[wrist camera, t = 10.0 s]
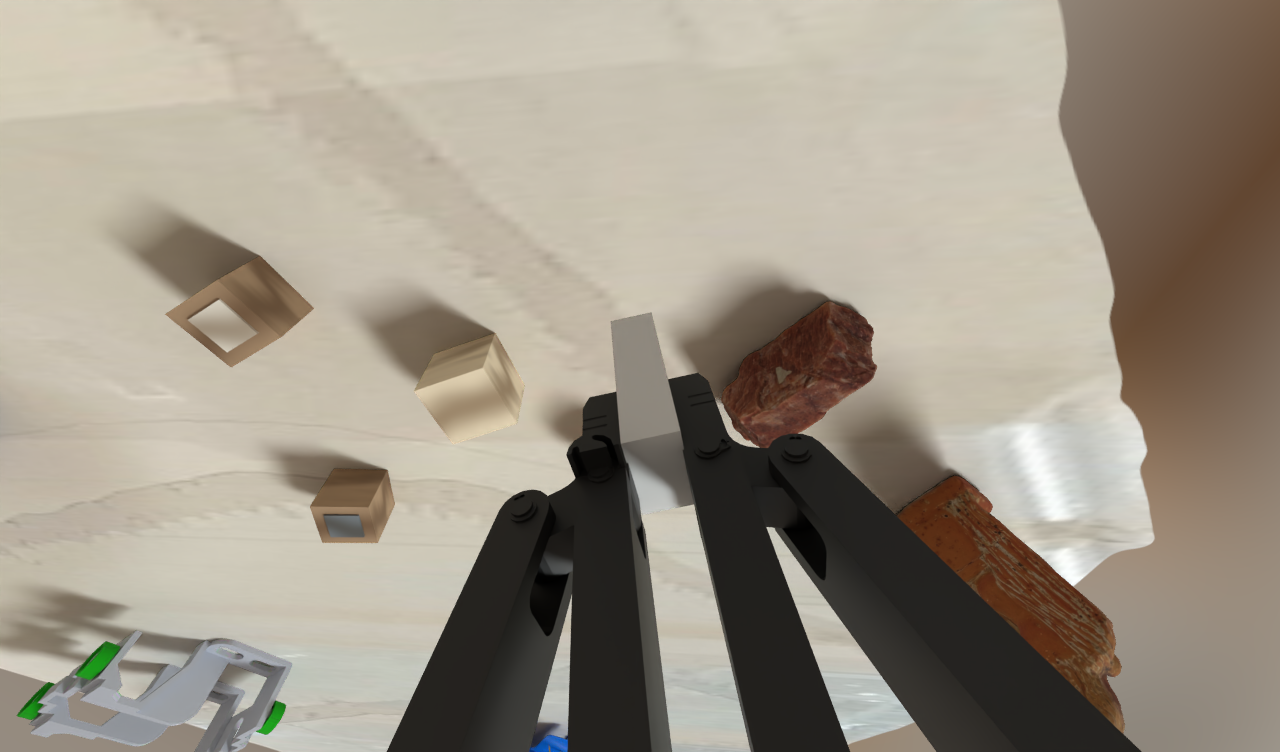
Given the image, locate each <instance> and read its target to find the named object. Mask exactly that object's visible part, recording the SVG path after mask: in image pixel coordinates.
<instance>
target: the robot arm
mask: <svg viewBox="0 0 1280 752" xmlns="http://www.w3.org/2000/svg"><path fill="white" fill-rule="evenodd" d="M611 330H612V342H613V355H614V367H615V379H616V392H613V393H608V394H604V395H599V396H595V397H590V398H589V399H588V401H587V403H586V405H585V406H584V408H583V436H581V437H580V438H578V439H577V440H575V441H574V442H573V443H572V445H571V446H570V447H569V449H568V452H567V458H568V460H569V463H570V465H571V468H572V470H573V473H574V475H575V480H574V481H573V482H572V483H570V484H569V485H568V486H566V487H565V488H563V489H561V490H559V491H557V492H555V493H553V494H551V495H549V496H547V495H546V494H544V493H543V492H541V491H538V490H527V491H522V492H520V493H518V494H516V495H514V496H512V497H511V498H510V499H509V500H507V501H506V502H505V503H504V505H503V506H502V508H501V509H500V510H499V513H498V515H497V517H496V519H495V521H494V523H493V525H492V527H491V530H490V532H489V534H488V536H487V538H486V540H485V542H484V545H483V547H482V549H481V551H480V553H479V555H478V557H477V560H476V562H475V564H474V566H473V568H472V570H471V572H470V575H469V577H468V579H467V581H466V583H465V585H464V587H463V590H462V592H461V594H460V596H459V598H458V600H457V602H456V605H455V607H454V609H453V611H452V613H451V615H450V617H449V620H448V622H447V624H446V626H445V628H444V630H443V632H442V634H441V637H440V639H439V641H438V643H437V645H436V647H435V649H434V652H433V654H432V656H431V658H430V660H429V662H428V664H427V667H426V669H425V671H424V673H423V675H422V677H421V679H420V682H419V684H418V686H417V688H416V690H415V692H414V694H413V697H412V699H411V701H410V703H409V705H408V707H407V709H406V712H405V714H404V716H403V718H402V720H401V722H400V724H399V727H398V729H397V731H396V733H395V735H394V737H393V739H392V741H391V744H390V746H389V748H388V750H387V752H529V750H530V747H531V743H532V739H533V735H534V732H535V728H536V724H537V721H538V717H539V713H540V710H541V706H542V702H543V699H544V695H545V691H546V687H547V684H548V680H549V676H550V673H551V669H552V665H553V662H554V658H555V654H556V651H557V647H558V643H559V640H560V636H561V632H562V628H563V625H564V621H565V617H566V614H567V610H568V606H569V603H570V599H571V595H572V615H571V649H570V683H569V716H568V750H567V752H672V748H671V739H670V731H669V723H668V715H667V706H666V698H665V690H664V682H663V673H662V665H661V657H660V649H659V641H658V632H657V624H656V616H655V608H654V599H653V591H652V583H651V575H650V566H649V558H648V550H647V542H646V534H645V529H644V526H643V523H642V519H641V512H642V515H644V514H649V513H654V512H659V511H664V510H669V509H673V508H678V507H683V506H688V505H693V504H694V506H695V510H696V515H697V520H698V525H699V530H700V535H701V538H702V542H703V546H704V550H705V555H706V559H707V563H708V568H709V572H710V576H711V581H712V585H713V589H714V594H715V598H716V602H717V607H718V611H719V615H720V620H721V624H722V628H723V633H724V637H725V641H726V646H727V650H728V654H729V659H730V663H731V667H732V672H733V676H734V680H735V685H736V689H737V693H738V698H739V702H740V706H741V711H742V715H743V719H744V724H745V728H746V732H747V737H748V741H749V745H750V750H751V752H850V750H849V747H848V745H847V742H846V739H845V737H844V734H843V731H842V729H841V726H840V723H839V721H838V718H837V715H836V713H835V710H834V707H833V705H832V702H831V699H830V697H829V694H828V691H827V689H826V686H825V683H824V681H823V678H822V675H821V673H820V670H819V667H818V664H817V662H816V659H815V656H814V654H813V651H812V648H811V646H810V643H809V640H808V638H807V635H806V632H805V630H804V627H803V624H802V622H801V619H800V616H799V614H798V611H797V608H796V606H795V603H794V600H793V598H792V595H791V592H790V590H789V587H788V584H787V582H786V579H785V576H784V574H783V571H782V568H781V566H780V563H779V560H778V558H777V555H776V552H775V550H774V547H773V544H772V541H771V539H770V536H769V533H768V531H767V528H766V527H774V528H775V530H776V532H777V533H778V535H779V536H780V537H781V539H782V540H783V541H784V543H785V544H786V546H787V547H788V548H789V550H790V551H791V552H792V554H793V555H794V557H795V558H796V559H797V561H798V562H799V563H800V565H801V566H802V568H803V569H804V570H805V572H806V573H807V574H808V576H809V577H810V579H811V580H812V581H813V583H814V584H815V585H816V587H817V588H818V590H819V591H820V592H821V594H822V595H823V596H824V598H825V599H826V601H827V602H828V603H829V605H830V606H831V607H832V609H833V610H834V612H835V613H836V614H837V616H838V617H839V618H840V620H841V621H842V623H843V624H844V625H845V627H846V628H847V629H848V631H849V632H850V633H851V635H852V636H853V638H854V639H855V640H856V642H857V643H858V644H859V646H860V647H861V649H862V650H863V651H864V653H865V654H866V655H867V657H868V658H869V660H870V661H871V662H872V664H873V665H874V666H875V668H876V669H877V671H878V672H879V673H880V675H881V676H882V677H883V679H884V680H885V682H886V683H887V684H888V686H889V687H890V688H891V690H892V691H893V693H894V694H895V695H896V697H897V698H898V699H899V701H900V702H901V704H902V705H903V706H904V708H905V709H906V710H907V712H908V713H909V715H910V716H911V717H912V719H913V720H914V721H915V722H916V724H917V725H918V727H919V728H920V730H921V731H922V732H923V734H924V735H925V736H926V738H927V739H928V741H929V742H930V743H931V745H932V746H933V747H934V749H935V750H936V752H1141V751H1140V750H1139V749H1138V748H1137V747H1136V746H1135V745H1134V744H1133V743H1132V742H1131V741H1130V740H1129V739H1128V738H1126V736H1124V734H1123V733H1122V732H1120V731H1119V730H1118V729H1117V728H1116V727H1115V726H1114V725H1113V724H1112V723H1111V722H1110V721H1109V720H1108V719H1107V718H1106V717H1105V716H1104V715H1103V714H1102V713H1101V712H1100V711H1099V710H1098V709H1097V708H1096V707H1095V706H1093V705H1092V704H1091V703H1090V702H1089V701H1088V700H1087V699H1086V698H1085V697H1084V696H1083V695H1082V694H1081V693H1080V692H1079V691H1078V690H1077V689H1076V688H1075V687H1074V686H1073V685H1072V684H1071V683H1070V682H1069V681H1067V680H1066V679H1065V678H1064V677H1063V676H1062V675H1061V674H1060V673H1059V672H1058V671H1057V670H1056V669H1055V668H1054V667H1053V666H1052V665H1051V664H1050V663H1049V662H1048V661H1047V660H1046V659H1045V658H1044V657H1043V656H1042V655H1040V654H1039V653H1038V652H1037V651H1036V650H1035V649H1034V648H1033V647H1032V646H1031V645H1030V644H1029V643H1028V642H1027V641H1026V640H1025V639H1024V638H1023V637H1022V636H1021V635H1020V634H1019V633H1018V632H1017V631H1016V630H1015V629H1013V628H1012V627H1011V626H1010V625H1009V624H1008V623H1007V622H1006V621H1005V620H1004V619H1003V618H1002V617H1001V616H1000V615H999V614H998V613H997V612H996V611H995V610H994V609H993V608H992V607H991V606H990V605H989V604H987V603H986V602H985V601H984V600H983V599H982V598H981V597H980V596H979V595H978V594H977V593H976V592H975V591H974V590H973V589H972V588H971V587H970V586H969V585H968V584H967V583H966V582H965V581H964V580H963V579H962V578H960V577H959V576H958V575H957V574H956V573H955V572H954V571H953V570H952V569H951V568H950V567H949V566H948V565H947V564H946V563H945V562H944V561H943V560H942V559H941V558H940V557H939V556H938V555H937V554H936V553H935V552H933V551H932V550H931V549H930V548H929V547H928V546H927V545H926V544H925V543H924V542H923V541H922V540H921V539H920V538H919V537H918V536H917V535H916V534H915V533H914V532H913V531H912V530H911V529H910V528H909V527H907V526H906V525H905V524H904V523H903V522H902V521H901V520H900V519H899V518H898V517H897V516H896V515H895V514H894V513H893V512H892V511H891V510H890V509H889V508H888V507H887V506H886V505H885V504H884V503H883V502H882V501H880V500H879V499H878V498H877V497H876V496H875V495H874V494H873V493H872V492H871V491H870V490H869V489H868V488H867V487H866V486H865V485H864V484H863V483H862V482H861V481H860V480H859V479H858V478H857V477H856V476H855V475H853V474H852V473H851V472H850V471H849V470H848V469H847V468H846V467H845V466H844V465H843V464H842V463H841V462H840V461H839V460H838V459H837V458H836V457H835V456H834V455H833V454H832V453H831V452H830V451H829V450H827V449H826V448H825V447H824V446H823V445H822V444H821V443H820V442H819V441H817V440H816V439H814V438H813V437H811V436H807V435H804V434H787V435H782V436H780V437H778V438H777V439H775V440H773V441H772V443H771V444H770V446H769V447H768V448H755V447H747V446H744V445H741V444H739V443H737V442H735V441H734V440H733V439H732V438H730V436H729V435H728V433H727V431H726V428H725V425H724V423H723V420H722V417H721V415H720V412H719V409H718V407H717V404H716V402H715V398H714V396H713V393H712V390H711V388H710V385H709V382H708V380H706V379H705V378H704V377H703V376H701V375H700V374H699V373H695V374H691V375H686V376H681V377H677V378H672V379H668V378H667V374H666V370H665V366H664V362H663V358H662V354H661V349H660V345H659V341H658V337H657V333H656V329H655V325H654V321H653V317H652V313H646V314H642V315H637V316H633V317H629V318H624V319H620V320H615V321H611ZM640 509H641V510H640Z"/></svg>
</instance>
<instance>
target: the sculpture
mask: <svg viewBox="0 0 1280 752" xmlns="http://www.w3.org/2000/svg"><path fill="white" fill-rule="evenodd" d="M992 508H993V506H992V504H991V502H990V501H989V500H988V499H987V497H985V496H984V495H983V494H982V493H980V492H979V491H978V490H977V489H976V488H975V487H973V486H972V485H971V484H969V483H968V482H967V481H966V480H965V479H963V478H961V477H958V476H952V477H950V478H948V479H947V480H945V481H943V482H941V483H939V484H938V485H937V486H935V487H934V488H932V489H931V490H929V491H927V492H925V493H924V494H923V495H922V496H920V497H918V498H917V499H915V500H914V501H913V502H911V503H910V504H908V505H907V506H906V507H905V508H903V510H902V511H901V512H900V513H899V514H898V515H897V517H898V518H899V519H900V520H901V521H902V522H903V523H904V524H905V525H906V526H907V527H909V528H910V529H911V530H912V531H913V532H914V533H915V534H916V535H917V536H918V537H919V538H920V539H921V540H922V541H923V542H924V543H925V544H926V545H927V546H928V547H929V548H930V549H931V550H932V551H933V552H935V553H936V554H937V555H938V556H939V557H940V558H941V559H942V560H943V561H944V562H945V563H946V564H947V565H948V566H949V567H950V568H951V569H952V570H953V571H954V572H955V573H956V574H957V575H958V576H959V577H960V578H962V579H963V580H964V581H965V582H966V583H967V584H968V585H969V586H970V587H971V588H972V589H973V590H974V591H975V592H976V593H977V594H978V595H979V596H980V597H981V598H982V599H983V600H984V601H985V602H986V603H987V604H989V605H990V606H991V607H992V608H993V609H994V610H995V611H996V612H997V613H998V614H999V615H1000V616H1001V617H1002V618H1003V619H1004V620H1005V621H1006V622H1007V623H1008V624H1009V625H1010V626H1011V627H1012V628H1013V629H1015V630H1016V631H1017V632H1018V633H1019V634H1020V635H1021V636H1022V637H1023V638H1024V639H1025V640H1026V641H1027V642H1028V643H1029V644H1030V645H1031V646H1032V647H1033V648H1034V649H1035V650H1036V651H1037V652H1038V653H1039V654H1040V655H1042V656H1043V657H1044V658H1045V659H1046V660H1047V661H1048V662H1049V663H1050V664H1051V665H1052V666H1053V667H1054V668H1055V669H1056V670H1057V671H1058V672H1059V673H1060V674H1061V675H1062V676H1063V677H1064V678H1065V679H1066V680H1067V681H1069V682H1070V683H1071V684H1072V685H1073V686H1074V687H1075V688H1076V689H1077V690H1078V691H1079V692H1080V693H1081V694H1082V695H1083V696H1084V697H1085V698H1086V699H1087V700H1088V701H1089V702H1090V703H1091V704H1092V705H1093V706H1095V707H1096V708H1097V709H1098V710H1099V711H1100V712H1101V713H1102V714H1103V715H1104V716H1105V717H1106V718H1107V719H1108V720H1109V721H1110V722H1111V723H1112V724H1113V725H1114V726H1115V727H1116V728H1117V729H1118V730H1119V731H1120V732H1122V733H1123V731H1124V728H1125V723H1124V719H1123V714H1122V711H1121V705H1120V703H1119V701H1118V699H1117V696H1116V695H1115V693H1114V692H1113V690H1112V689H1111V687H1110V685H1109V683H1108V680H1107V675H1108V676H1111V677H1115V676H1117V675H1118V674H1119V673H1120V671H1121V667H1122V666H1121V664H1120V661H1119V659H1118V658H1117V657H1116V656H1115V654H1114V650H1115V645H1116V639H1115V636H1114V633H1113V629H1112V628H1113V625H1112V622H1111V621H1110V620H1109V619H1108V618H1107V617H1106V616H1105V614H1103V612H1102V611H1100V610H1099V609H1098V608H1097V607H1096V606H1095V605H1094V604H1093V603H1092V602H1090V601H1089V600H1088V599H1087V598H1086V597H1084V596H1083V595H1082V594H1081V593H1080V592H1079V591H1077V590H1076V589H1075V588H1074V587H1073V586H1072V585H1071V584H1069V583H1068V582H1067V581H1066V580H1065V579H1064V578H1062V577H1061V576H1060V575H1059V574H1058V573H1056V572H1055V570H1054V569H1053V568H1052V567H1051V566H1050V565H1049V564H1048V563H1047V562H1046V561H1045V560H1044V559H1042V558H1041V557H1040V556H1039V555H1038V554H1037V553H1035V552H1034V551H1033V550H1032V549H1030V548H1029V547H1028V546H1027V545H1026V544H1025V543H1024V542H1022V541H1021V540H1020V539H1019V538H1017V537H1016V536H1015V535H1014V534H1013V533H1012V532H1011V531H1010V530H1008V529H1007V528H1006V527H1005V526H1004V525H1003V524H1002V523H1001V522H1000V521H999V520H997V519H996V518H995V517H994V516H992V515H991V514H990V512H991V510H992Z"/></svg>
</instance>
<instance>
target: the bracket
mask: <svg viewBox="0 0 1280 752" xmlns="http://www.w3.org/2000/svg"><path fill="white" fill-rule="evenodd" d="M141 634H142V632H139V631H137V630H136V631H135V632H133V633H132V634H131V635H129V636H128V637H126V638H125V639H123V640H122V641H121V642H119V643H118V644H116V645H115V644H113V643H110V642H107V641H106V642H104V643H103V644H102V645H101V646H100V647H99V648H97V649H96V650H95V651H94V652H93V653H92V654H91V656H90V657H89V658H88V659H87V660H86V661H85V662H84V663H83V664H81V665H80V666H79V667H77V668H76V669H74V670H73V671H72V672H71V673H70V675H69V676H66V677H65V678H64V679H62V680H61V681H59V682H58V683H56V684H54V683H50V682H48V683H47V684H45V685H44V686H43V687H42V688H41V689H40V690H39V691H38V692H37V693H36V694H35V695H34V696H33V697H32V698H31V699H30V700H29V701H28V702H27V703H26V704H25V706H24V707H23V708H22V709H21V710H20V712H19V713H18V715H17V716H18V717H22V718H26V719H30V720H32V719H33V720H32V721H31V723H30V724H29V725H32V726H36V727H35V728H34V729H33V730H32V732H31V734H35V735H39V736H43V737H49V736H50V735H52V734H63V733H69V734H72V735H76V736H81V737H84V738H88V739H94V738H96V737H101V738H104V739H108V740H112V741H116V742H119V743H123V744H127V745H131V746H142V745H145V744H148V743H150V742H152V741H154V740H155V739H157V738H158V737H159V736H160V735H161V734H163V732H164V731H165V730H166V728H167V727H168V726H175V725H179V724H182V723H184V722H186V721H188V720H189V719H191V718H192V717H194V716H195V715H196V714H197V713H198V711H199V710H200V708H201V707H202V705H203V703H204V702H205V700H209V701H212V702H215V703H218V704H221V706H220V708H219V710H218V711H217V713H216V715H215V716H214V718H213V720H212V722H211V723H210V725H209V727H208V729H207V730H206V732H205V734H204V736H203V737H202V739H201V741H200V742H199V744H198V746H197V748H196V749H195V751H194V752H237V751H239V750H241V749H242V748H244V747H246V745H247V743H248V741H249V739H250V737H251V735H252V733H254V732H259V733H262V734H265V735H267V734H269V733H270V732H271V731H272V730H273V729H274V728H275V727H276V725H277V724H278V723H279V721H280V720H281V718H282V716H283V714H284V712H285V708H286V705H285V704H284V703H281V702H278V701H275V700H276V698H277V696H278V694H279V692H280V690H281V688H282V686H283V684H284V682H285V680H286V678H287V676H288V674H289V671H290V669H291V667H292V663H291V662H288V661H286V660H283V659H281V658H278V657H276V656H273V655H271V654H268V653H266V652H263V651H261V650H258V649H256V648H253V647H251V646H248V645H246V644H243V643H241V642H238V641H235V640H231V639H217V640H214V641H212V642H210V641H207V640H205V641H204V642H202V643H201V644H199V645H198V646H197V647H196V649H195V650H194V652H193V653H192V654H191V656H190V657H189V659H188V660H187V662H186V663H185V665H184V666H183V668H179V667H176V666H173V665H170V664H168V665H167V666H165V667H164V668H162V669H161V670H160V671H159V673H158V674H157V676H156V677H155V678H154V680H153V681H152V683H151V684H150V685H149V687H148V688H147V690H146V691H145V692H144V693H143V694H142V695H141V696H139V697H138V698H137V699H136V700H134V699H131V698H128V697H124V696H121V694H120V693H119V692H118V690H119V689H120V688H121V686H122V683H121V678H120V673H119V668H118V663H119V662H120V661H121V660H122V658H123V657H124V656H125V654H126V653H127V652H128V651H129V649H130V648H131V647H132V646H133V644H134V643H135V642H136V641H137V639H138V638H139V637H140V636H141ZM220 647H224V648H228V649H230V650H233V651H235V652H238V653H240V654H242V655H239V654H234V653H232V652H229V651H227V650H224V649H222V648H220ZM253 660H257V661H261V662H264V663H266V664H269V665H271V666H274V667H269V666H266V665H263V664H261V663H258V662H255V661H253ZM228 663H229V664H232V665H235V666H237V667H240V668H243V669H245V670H248V671H251V672H253V673H256V674H259V675H261V676H264V677H267V680H266V681H265V683H264V685H263V687H262V689H261V691H260V693H259V695H258V697H257V698H256V700H255V702H254V704H253V706H251V707H249V708H248V709H246V710H244V711H242V712H241V713H239V714H237V715H235V716H233V714H234V712H235V711H236V709H237V707H238V705H239V703H240V701H241V700H242V698H243V696H244V694H245V691H244V690H242V689H239V688H236V687H233V686H230V685H227V684H224V683H222V682H219V681H217V680H218V679H219V677H220V676H221V674H222V672H223V671H224V669H225V667H226V666H227V664H228ZM211 690H212V691H215V692H218V693H221V694H224V695H221V694H217V693H214V692H212V691H211ZM78 691H79V692H83V693H85V694H84V695H83V697H82V698H81V699H80V700H81V701H84V702H88V703H92V704H95V705H98V706H102V707H105V708H109V709H112V710H116V711H119V713H117V714H116V715H115V716H113V717H112V718H111V719H109V720H108V721H107V722H105V723H104V724H103V725H102V726H97V725H94V724H90V723H86V722H83V721H78V720H75V719H72V718H70V713H69V707H68V701H67V698H69V697H70V696H72V695H73V694H75V693H76V692H78ZM232 716H233V717H232ZM240 725H241V726H240ZM239 727H240V728H239ZM238 728H239V730H238ZM237 730H238V732H237ZM236 732H237V734H236ZM235 734H236V735H235ZM234 736H235V737H234ZM233 737H234V738H233Z"/></svg>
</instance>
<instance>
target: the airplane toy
mask: <svg viewBox="0 0 1280 752" xmlns="http://www.w3.org/2000/svg"><path fill="white" fill-rule="evenodd" d="M567 750H568V738H567V739H564V738H560V737H557V736H553V735H547V736H546V737H545V738H544V739H543V740H542V741H541V742H540V743H539V744H538V745H537V746H536V747H530V750H529V752H567Z"/></svg>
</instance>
